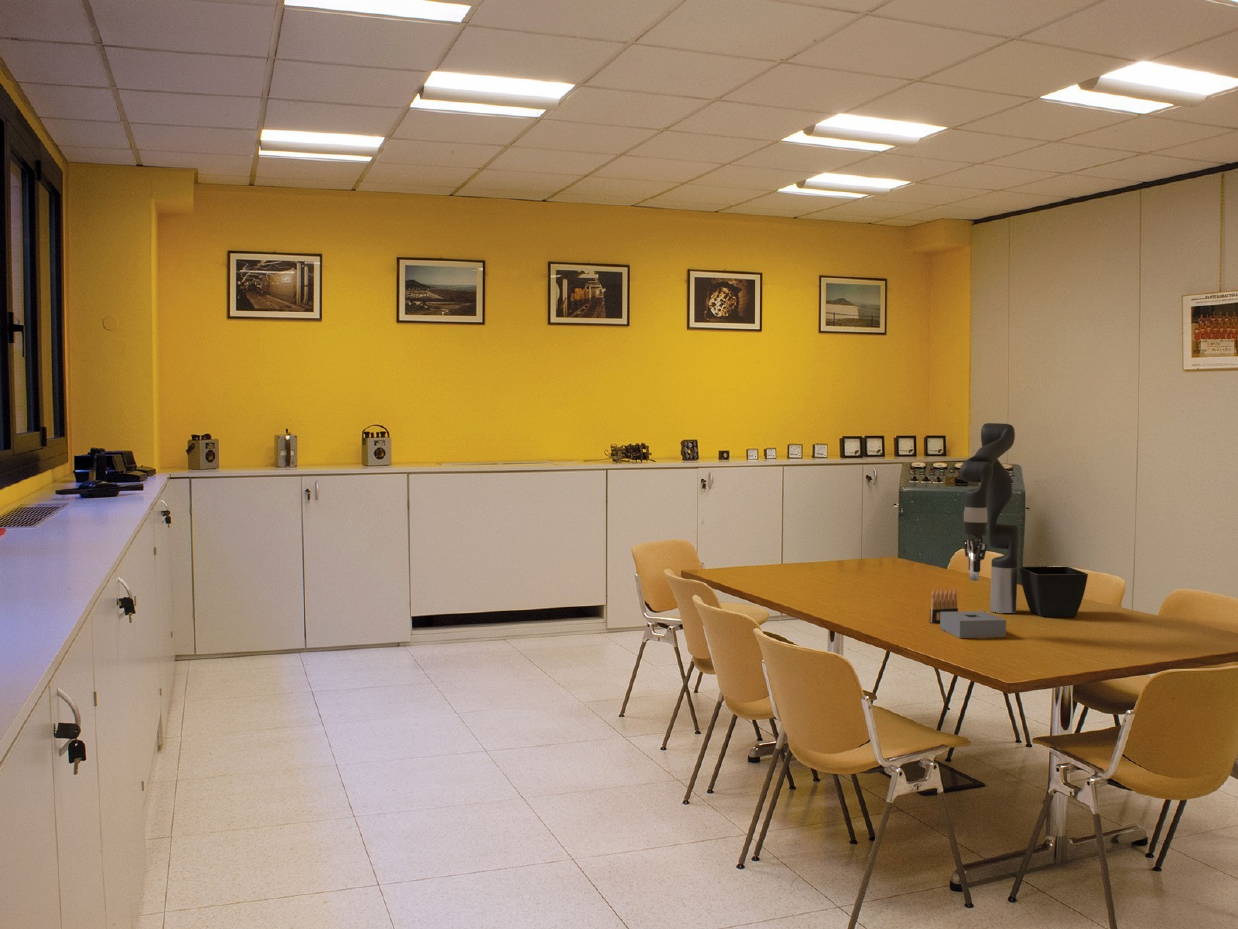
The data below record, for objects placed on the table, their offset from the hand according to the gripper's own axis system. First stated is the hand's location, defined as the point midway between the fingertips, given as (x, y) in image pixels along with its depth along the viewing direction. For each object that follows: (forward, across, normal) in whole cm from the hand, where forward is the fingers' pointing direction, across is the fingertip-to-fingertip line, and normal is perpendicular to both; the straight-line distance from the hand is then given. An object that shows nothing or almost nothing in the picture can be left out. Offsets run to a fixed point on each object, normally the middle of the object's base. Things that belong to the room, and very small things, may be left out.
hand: (974, 570), depth 349 cm
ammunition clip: (+22, +19, +2) cm, 29 cm away
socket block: (+21, 0, 0) cm, 21 cm away
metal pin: (+3, 0, 0) cm, 3 cm away
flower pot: (+21, +31, -45) cm, 59 cm away
